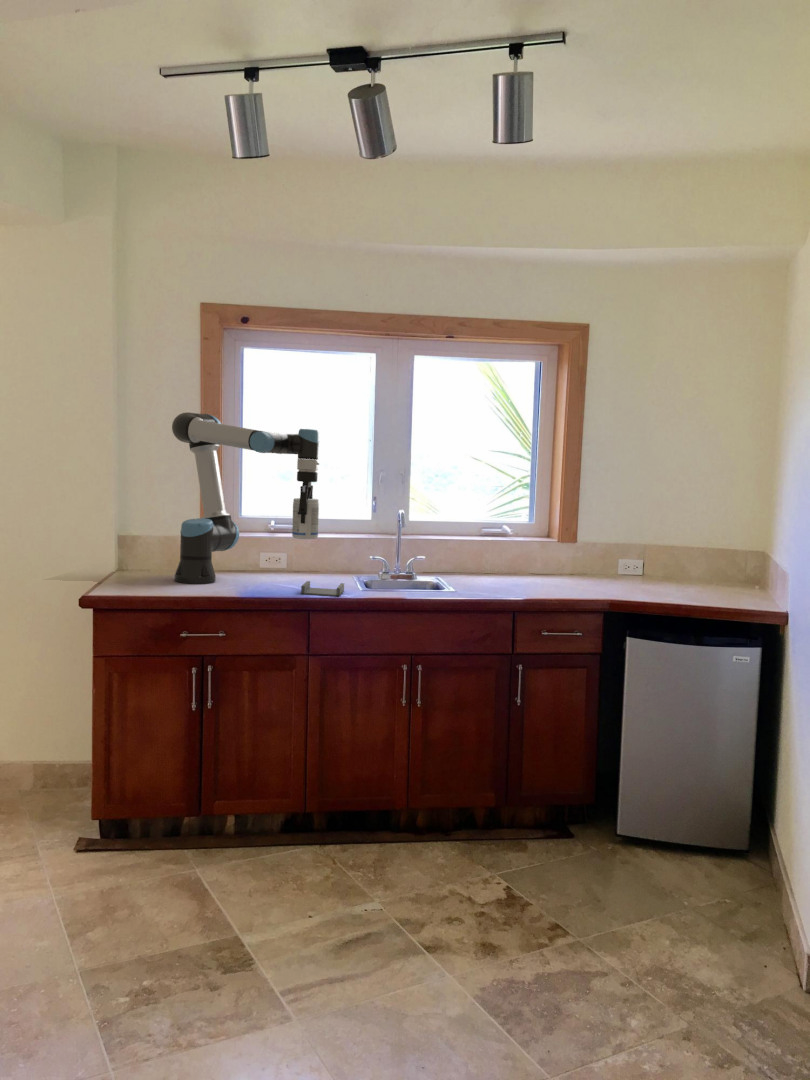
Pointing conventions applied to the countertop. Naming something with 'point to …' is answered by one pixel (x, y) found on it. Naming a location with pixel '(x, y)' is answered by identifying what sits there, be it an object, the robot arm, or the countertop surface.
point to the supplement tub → (311, 519)
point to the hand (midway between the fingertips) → (305, 531)
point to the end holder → (321, 590)
